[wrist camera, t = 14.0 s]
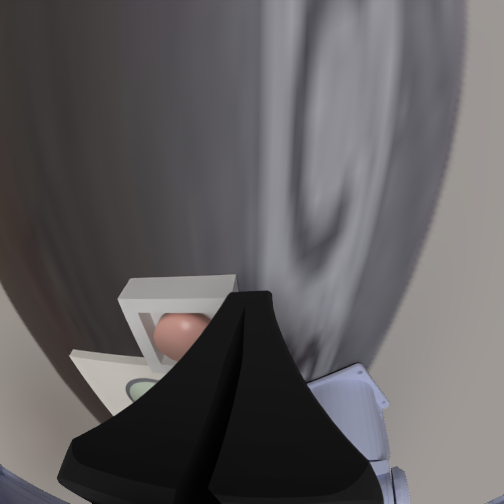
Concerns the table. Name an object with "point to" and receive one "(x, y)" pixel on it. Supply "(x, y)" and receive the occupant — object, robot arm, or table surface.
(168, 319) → the button
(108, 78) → the table surface
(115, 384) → the picture board
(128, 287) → the button box
